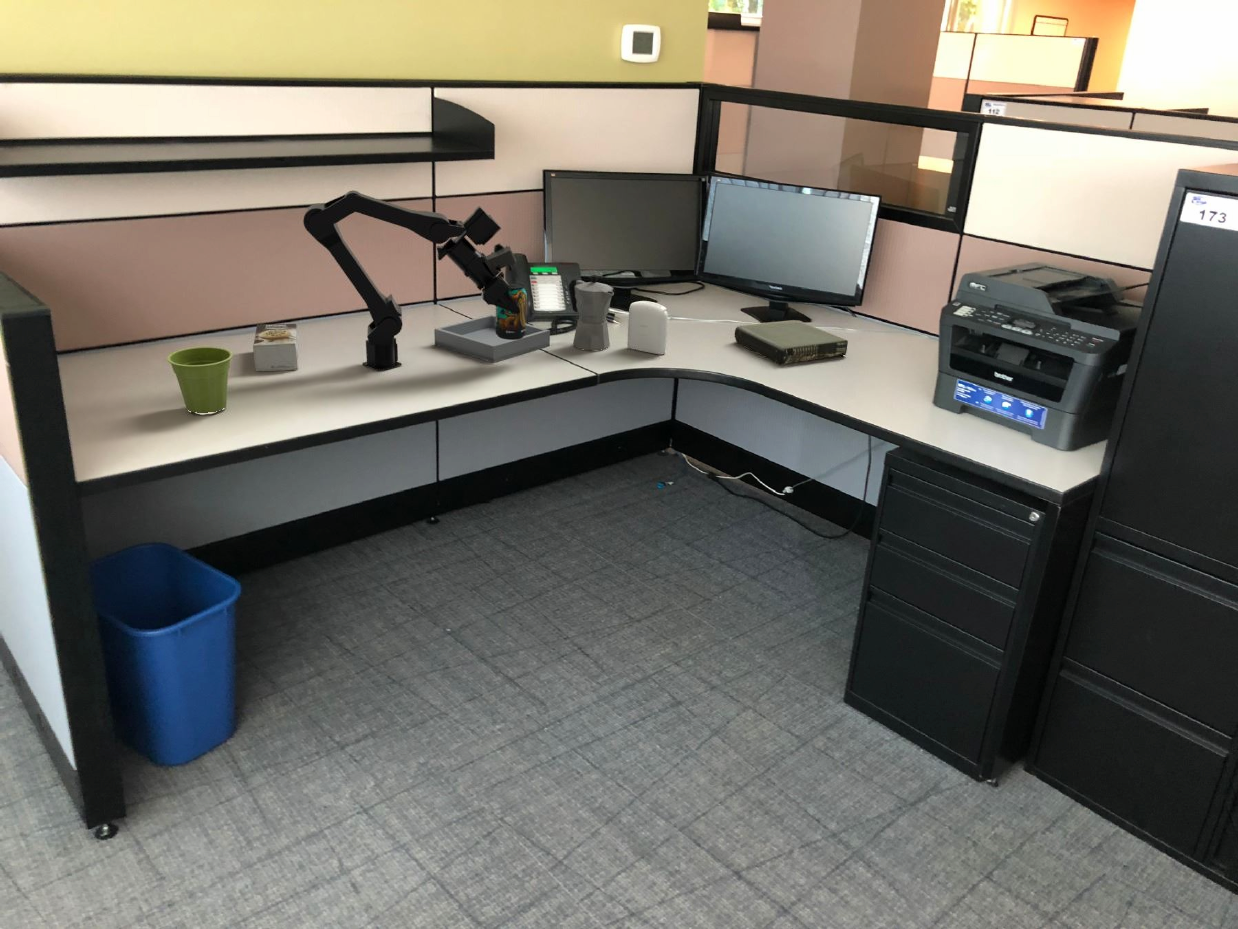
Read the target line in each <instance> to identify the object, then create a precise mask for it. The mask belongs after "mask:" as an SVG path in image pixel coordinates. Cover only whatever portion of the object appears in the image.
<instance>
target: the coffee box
mask: <svg viewBox="0 0 1238 929" xmlns="http://www.w3.org/2000/svg"><path fill="white" fill-rule="evenodd" d="M252 345H253V346H252V350H253V357H254V358H253V359H254V367H255V371H256V372H273V371H275V372H276V371H277V370H278V371H295V370H296V371H297V370H298V369H299V366H298V365H299V350H300V349H299V347H300V346H299V335H298V326H297V323H266V324H262V323H261V324H260V323H259V324H258V323H257V324H256V330H255V335H254V340H253V344H252Z"/></svg>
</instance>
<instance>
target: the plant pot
mask: <svg viewBox="0 0 1238 929" xmlns="http://www.w3.org/2000/svg"><path fill="white" fill-rule="evenodd" d="M233 354H234V353H233V352H232V351H231V350H229V349H226V348H224V347H223V348H222V347H217V346H193V347H188V348H183V349H179V350H176V351H174V352H173V351H172V353H170V354H168V356H167V357H166V360H167V361H168V363H169V364H171V365H170V366H171V368H172V371H173V373H174V374H175V377H176V379H177V382H178V384H179V385H178V386H179V388H180V391H181V396H182V398H183V401H184V404H185V408H186V411H187V410H189V411H191V412H197V413H208V412H216V411H219V410H222V409H223V408H225V407H226V408H227V397H228V396H227V395H228V394H227V393H228V380H229V369H230V364H231V359H232V358H233ZM226 408H225V409H226ZM219 412H220V411H219Z"/></svg>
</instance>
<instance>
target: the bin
mask: <svg viewBox="0 0 1238 929" xmlns="http://www.w3.org/2000/svg"><path fill="white" fill-rule="evenodd" d="M495 331H496V314H488V315H485V316H480V317H476V318H471V319H468V320H465V321H464V320H463V321H461V322H456V323H452V324H448V325H444V326H441V327H436V328H434V345H435V346H438V347H442V348H445V349H447V350H450V351H454V352H457V353H461V354H464V355H467V356H469V357H473V358H477V359H480V360H483V361H485V362H486V361H487V362H488V363H493V364H495V363H498V362H502V361H504V360H508V359H511V358H514V357H515V358H516V357H518V356H521V355H524V354H527V353H530V352H534V351H537V350H541V349H545V348H547V347H550V344H551V330H550V329H547V328H543V327H539V326H535V325H532V324H529V323H526V334H525V335H524V337H523V338H521V339H517V340H507V339H502V338H500V337H498V335H497V334H496V332H495Z"/></svg>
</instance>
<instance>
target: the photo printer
mask: <svg viewBox="0 0 1238 929" xmlns="http://www.w3.org/2000/svg"><path fill="white" fill-rule="evenodd" d="M668 322H669V310H668V308H666V307H665V306H664V305H662V304H659V303H657V302H652V301H649V300H648V301H647V300H640V301H635V302H632V303H631V304H630V306H629V310H628V322H627V323H628V325H627V345H626V346H627V349H630V348H631V350H635V349H636V351H640V352H644V353H649V354H650V353H651V354H654V355H655V354H656V355H663V354H662V353H664V354H665V353H666V351H667V343H668V340H667V338H668V324H669V323H668Z"/></svg>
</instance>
